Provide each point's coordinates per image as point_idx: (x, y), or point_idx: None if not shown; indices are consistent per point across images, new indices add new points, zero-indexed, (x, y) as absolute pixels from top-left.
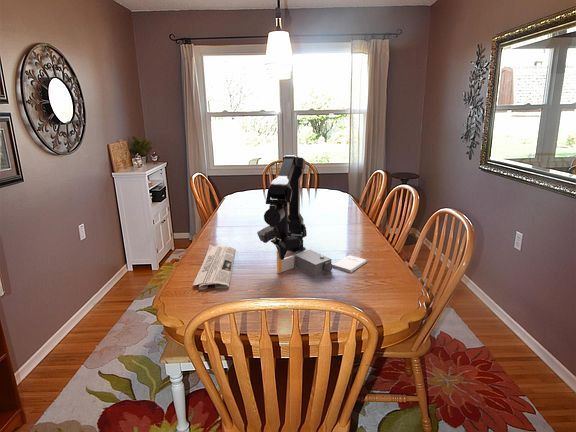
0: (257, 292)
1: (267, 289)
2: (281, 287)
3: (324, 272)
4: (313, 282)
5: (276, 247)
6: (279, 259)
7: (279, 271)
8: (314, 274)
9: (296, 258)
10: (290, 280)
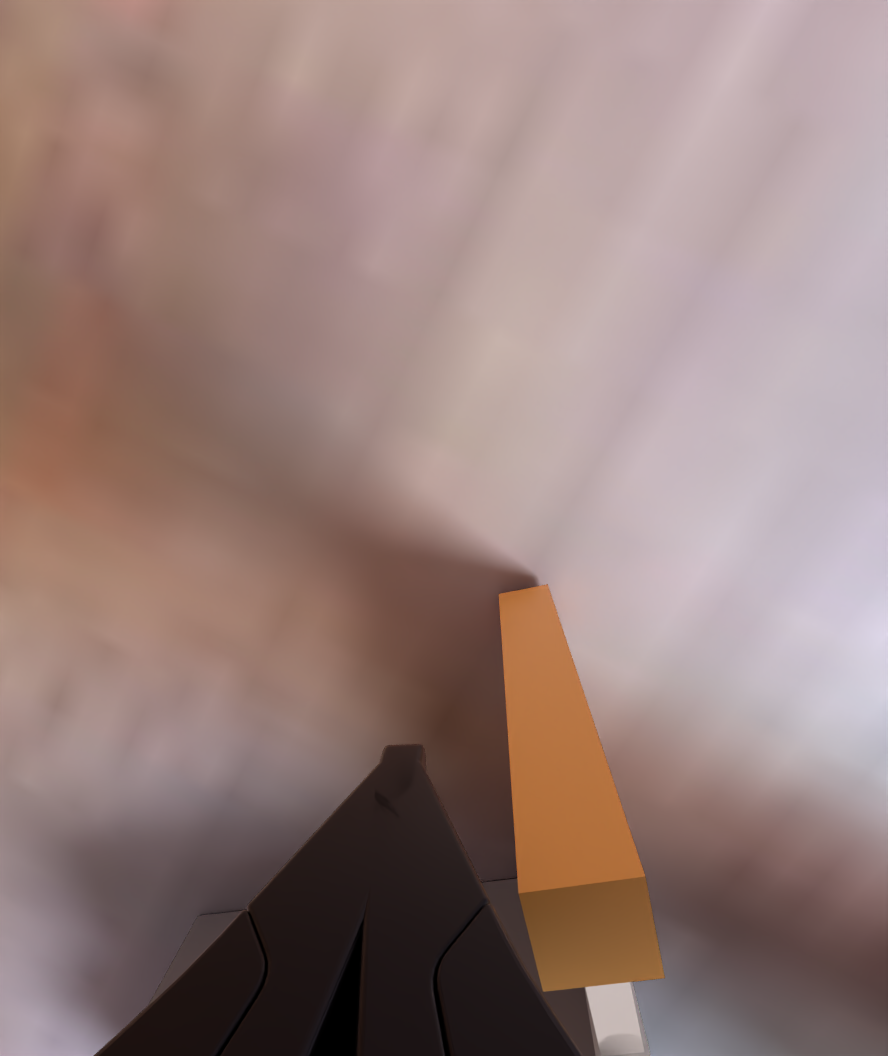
0: (52, 16)
1: (96, 215)
2: (89, 434)
3: None
4: (86, 834)
5: (550, 1053)
6: (511, 735)
7: (500, 611)
8: (196, 943)
9: (578, 1023)
10: (237, 633)
